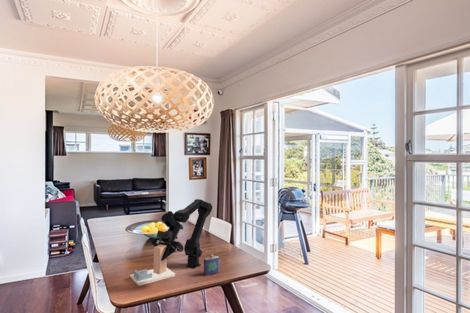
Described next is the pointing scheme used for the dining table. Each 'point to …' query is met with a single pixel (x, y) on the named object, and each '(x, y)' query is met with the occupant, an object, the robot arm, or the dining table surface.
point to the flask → (211, 265)
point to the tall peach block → (159, 259)
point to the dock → (150, 276)
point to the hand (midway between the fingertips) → (158, 259)
